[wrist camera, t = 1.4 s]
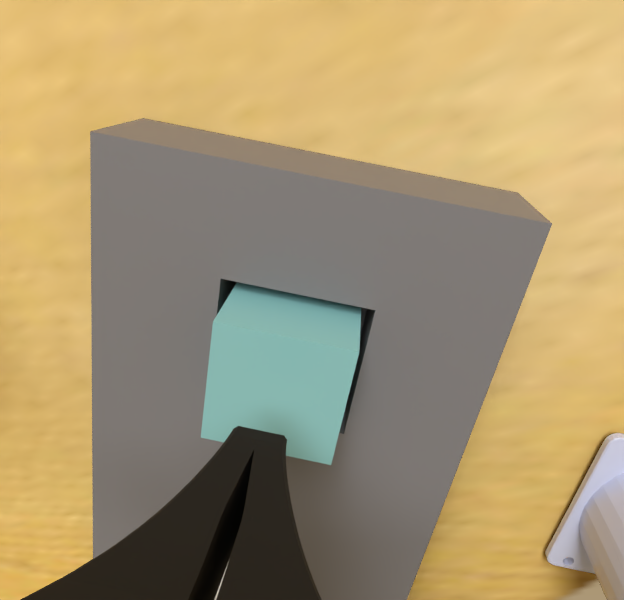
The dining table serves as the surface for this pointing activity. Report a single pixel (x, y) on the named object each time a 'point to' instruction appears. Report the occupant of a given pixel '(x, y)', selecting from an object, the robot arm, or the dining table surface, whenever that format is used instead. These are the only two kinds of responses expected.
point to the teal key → (281, 368)
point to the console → (308, 282)
